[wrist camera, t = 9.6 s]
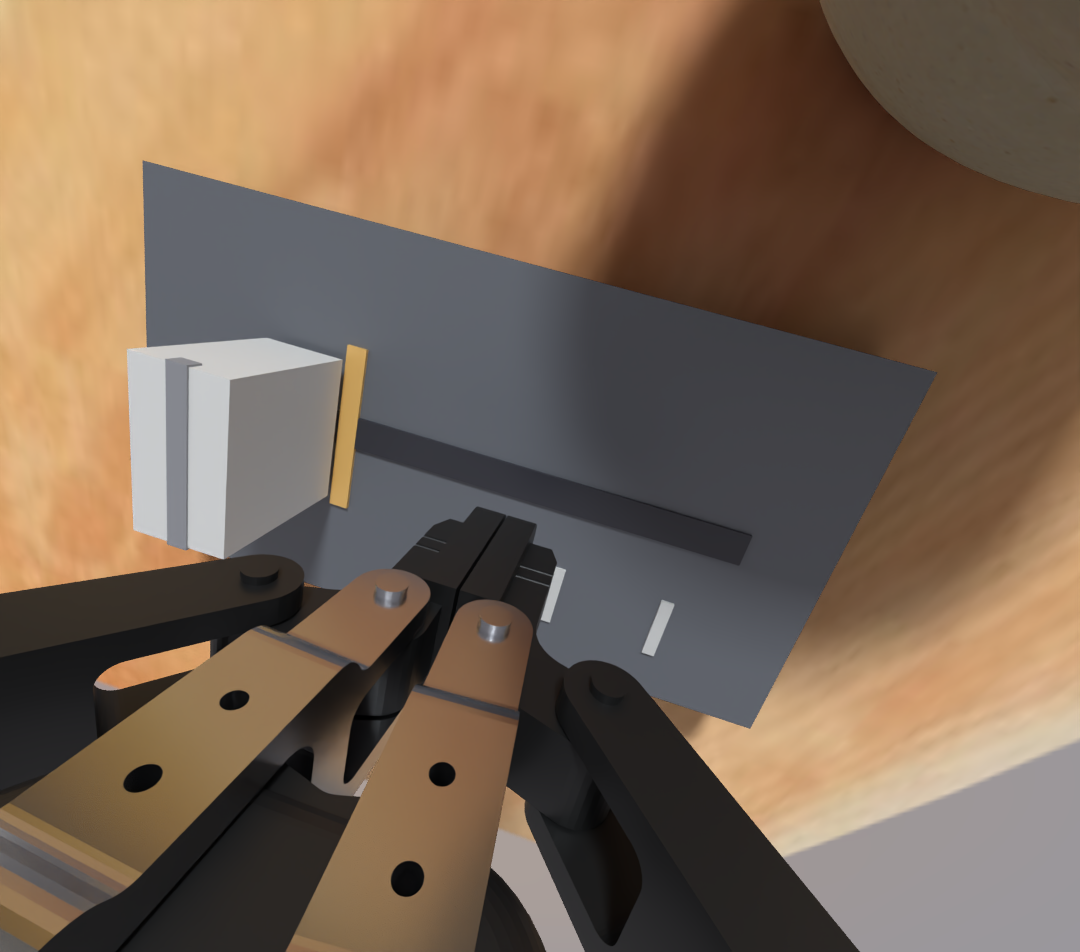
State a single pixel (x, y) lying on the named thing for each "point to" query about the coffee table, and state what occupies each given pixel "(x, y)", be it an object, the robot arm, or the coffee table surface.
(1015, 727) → the coffee table surface
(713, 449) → the slide fader base
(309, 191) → the coffee table surface
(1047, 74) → the planter bowl
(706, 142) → the coffee table surface
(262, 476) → the fader knob
